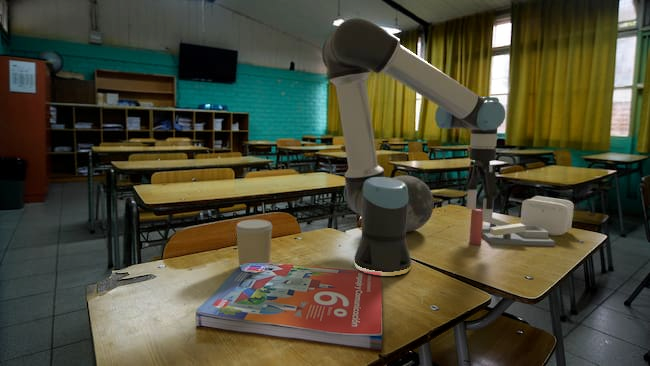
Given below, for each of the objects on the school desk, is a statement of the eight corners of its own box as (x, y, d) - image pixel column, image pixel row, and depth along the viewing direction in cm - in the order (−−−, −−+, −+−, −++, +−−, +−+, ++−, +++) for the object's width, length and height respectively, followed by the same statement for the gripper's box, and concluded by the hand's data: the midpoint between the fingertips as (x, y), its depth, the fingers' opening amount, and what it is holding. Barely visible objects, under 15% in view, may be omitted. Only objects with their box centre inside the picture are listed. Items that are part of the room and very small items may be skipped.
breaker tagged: (494, 236, 124) (494, 230, 123) (490, 233, 127) (490, 227, 127) (525, 231, 123) (525, 225, 123) (520, 228, 126) (520, 223, 126)
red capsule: (471, 244, 122) (474, 211, 120) (467, 241, 126) (470, 208, 124) (482, 245, 122) (485, 211, 120) (478, 241, 126) (481, 209, 124)
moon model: (368, 234, 132) (370, 177, 129) (382, 220, 150) (385, 170, 147) (427, 242, 124) (431, 181, 121) (435, 227, 143) (438, 174, 139)
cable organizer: (573, 232, 138) (577, 201, 136) (563, 238, 131) (567, 205, 129) (529, 224, 149) (533, 195, 147) (518, 228, 142) (521, 198, 141)
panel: (491, 244, 123) (492, 234, 122) (471, 228, 141) (472, 219, 140) (554, 245, 123) (555, 235, 122) (526, 230, 140) (527, 220, 140)
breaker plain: (481, 220, 134) (482, 215, 134) (477, 218, 137) (479, 213, 137) (507, 228, 135) (509, 223, 134) (504, 226, 138) (506, 220, 137)
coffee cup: (259, 258, 107) (258, 217, 105) (279, 268, 100) (279, 224, 99) (229, 267, 101) (228, 223, 99) (249, 277, 94) (248, 230, 92)
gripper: (513, 150, 107) (508, 224, 110) (480, 144, 131) (476, 205, 135) (486, 150, 107) (481, 224, 110) (458, 144, 131) (454, 204, 135)
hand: (478, 213), depth 122 cm, fingers open, 13 cm apart
